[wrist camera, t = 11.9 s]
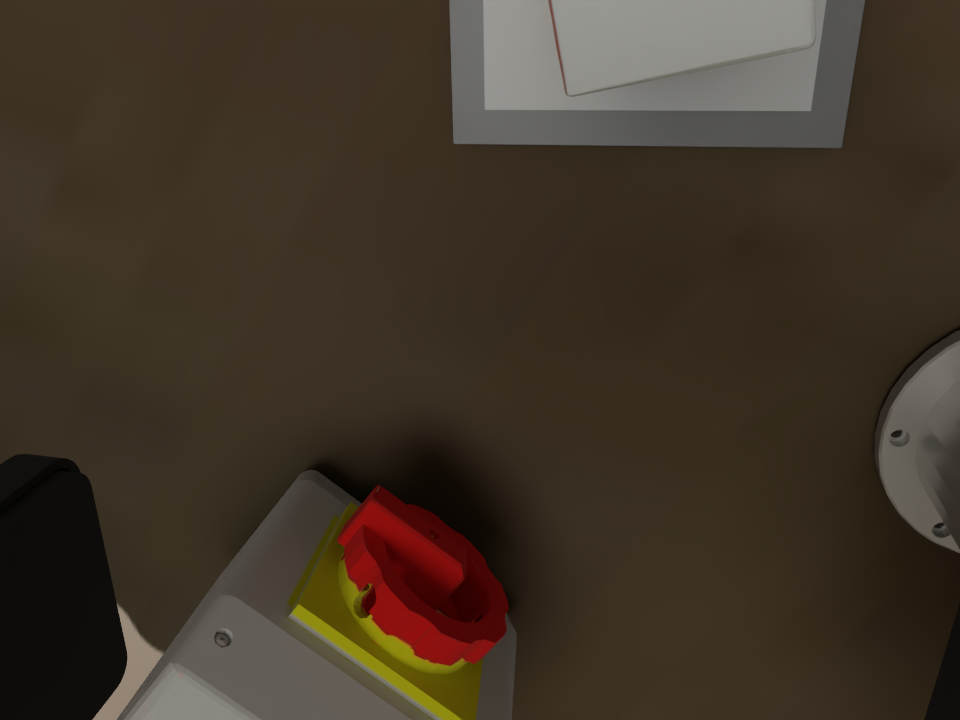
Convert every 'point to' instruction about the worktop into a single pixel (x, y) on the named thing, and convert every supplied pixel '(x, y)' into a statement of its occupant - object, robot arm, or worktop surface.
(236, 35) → the worktop surface
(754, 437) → the worktop surface
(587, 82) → the small box
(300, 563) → the electrical switch box
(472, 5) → the case
